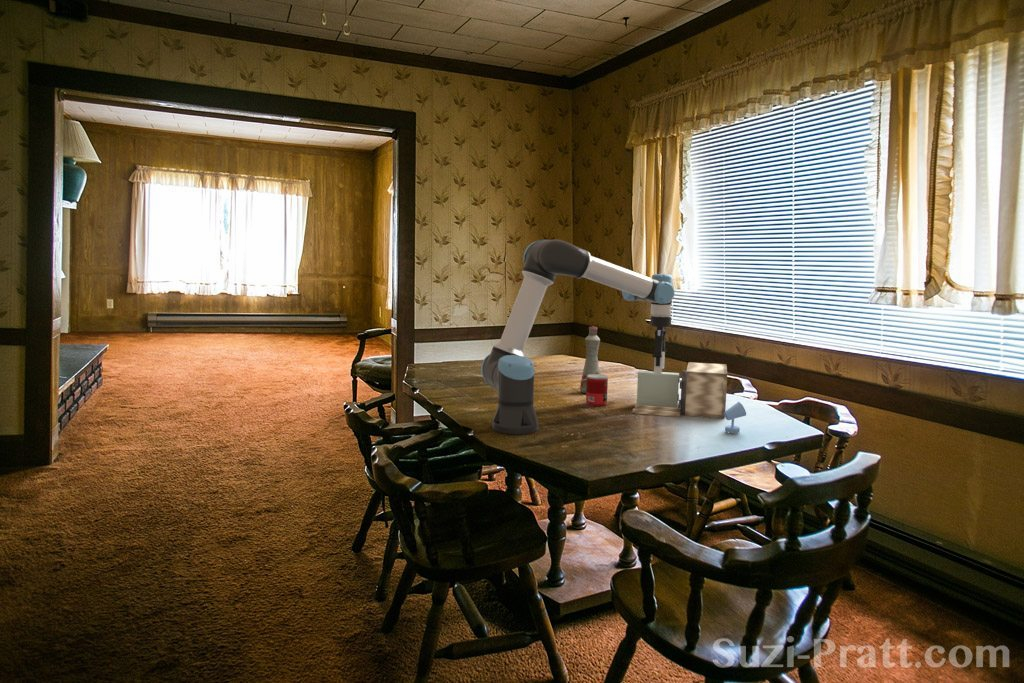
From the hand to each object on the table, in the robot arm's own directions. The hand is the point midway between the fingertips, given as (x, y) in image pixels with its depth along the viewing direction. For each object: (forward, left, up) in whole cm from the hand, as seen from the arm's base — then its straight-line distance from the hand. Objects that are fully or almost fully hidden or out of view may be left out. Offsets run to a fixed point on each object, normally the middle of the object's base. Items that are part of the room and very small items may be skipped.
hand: (659, 371), depth 250 cm
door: (0, 0, -13) cm, 13 cm away
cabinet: (+8, -2, -13) cm, 16 cm away
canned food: (-23, -5, -14) cm, 27 cm away
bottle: (-29, +15, -14) cm, 35 cm away
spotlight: (+27, -30, -14) cm, 42 cm away
